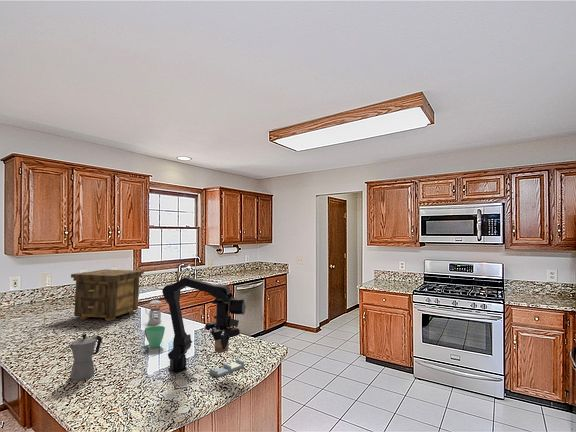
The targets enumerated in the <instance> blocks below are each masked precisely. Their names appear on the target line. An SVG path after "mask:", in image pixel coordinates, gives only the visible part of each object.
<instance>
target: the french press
mask: <svg viewBox="0 0 576 432" xmlns="http://www.w3.org/2000/svg"><path fill="white" fill-rule="evenodd" d="M154 289H158V286H154ZM159 304H162V301H160V300H158V299H157V297H155V300H154V299H153V300H151V301H149V304H147V305H146V307H145V309H144V310H145V312H146V314H147V315H148V321H147V322H146V323H147V324H148V325H149V324H151V325H153V324H159V323H160V324H161V323H162V322H163V320H162V319H161V318H162V317H161V316H162V313H161V312H162V310H161V307H160V306H156V305H159ZM151 305H154V307H152V306H151ZM148 306H149V309H150V310H149V312H148V310H147V308H148Z"/></svg>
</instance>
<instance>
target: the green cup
mask: <svg viewBox="0 0 576 432" xmlns="http://www.w3.org/2000/svg"><path fill="white" fill-rule="evenodd" d="M165 329H166V327H165V326H163V325H154V326H146V327H145V328H144V335H145V338H146V340H147V342H148V344H149V348H152V349H157V348H160V347H161V344H162V341H163V339H164V335H165V332H166V331H165Z"/></svg>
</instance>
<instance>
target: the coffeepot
mask: <svg viewBox="0 0 576 432" xmlns="http://www.w3.org/2000/svg"><path fill="white" fill-rule="evenodd" d="M102 341H103V338H102V337H101V336H100V335H94V336H92V337H88V338H87V333H84V334H82V338H80V339H75V340H74V341H72V342H71V344H70V345H69V346H68V348H70V349H71V352H72V358H73V363H72V367H71V371H70V373H69V374H70V375H69V379H70V380H71V381H83V380H87V379H89V378H92V377H93V376H94V375H95V367H94V366H95V365H94V359H93V356H96V355H98V353H99V350H100V348H101V344H102ZM96 343H97V344H96Z"/></svg>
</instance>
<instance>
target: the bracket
mask: <svg viewBox="0 0 576 432" xmlns="http://www.w3.org/2000/svg"><path fill="white" fill-rule="evenodd" d="M244 367H245V361H243V360H241V359H239V358H236V359H235V361H234V362H233V363H230V364H227V363H223V364H222V367H219V368H217V369H214V368H212V367H211V368H209V369H208V371H209V374H208V375H210V374H211V375H210V376H212V375H213V377H214V376H215V377H214V378H219V377H221V376H224V375H227V374H230V373H232V372H234V371H237V370H239V369H242V368H244ZM226 373H227V374H226ZM223 374H224V375H223ZM218 376H219V377H218Z"/></svg>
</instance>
